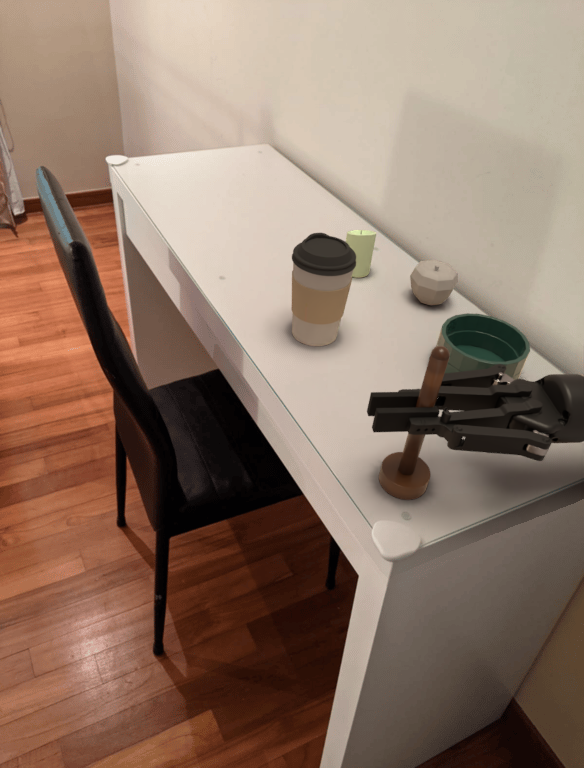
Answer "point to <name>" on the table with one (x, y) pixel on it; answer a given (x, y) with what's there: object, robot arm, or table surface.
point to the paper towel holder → (415, 439)
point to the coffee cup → (320, 287)
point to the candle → (361, 250)
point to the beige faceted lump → (433, 281)
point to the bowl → (483, 344)
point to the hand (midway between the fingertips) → (372, 412)
